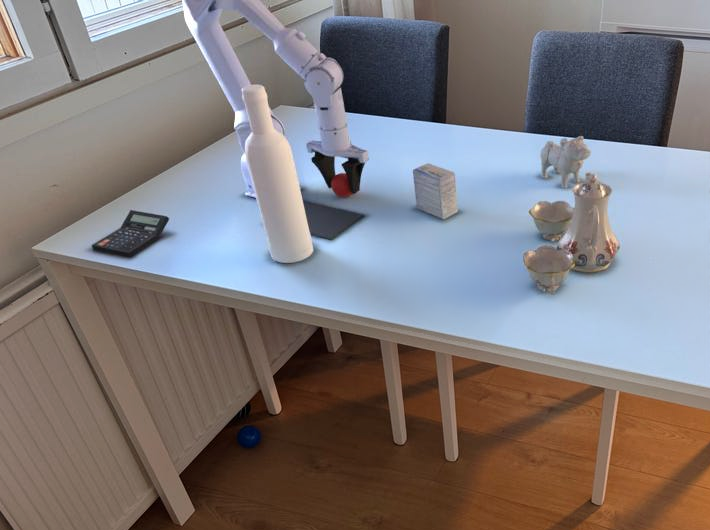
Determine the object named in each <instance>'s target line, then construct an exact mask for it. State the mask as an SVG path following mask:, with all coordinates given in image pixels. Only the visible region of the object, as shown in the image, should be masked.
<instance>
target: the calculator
mask: <svg viewBox="0 0 710 530" xmlns="http://www.w3.org/2000/svg"><path fill="white" fill-rule="evenodd" d="M169 220H170V218H169V217H168V216H167V215H162V214H156V213H150V212H146V211H145V212H144V211H139V210H134V209H133V210H132V209H130V210H129V212H128V214H127V215H126V217H125V219H124V221H123V223H122V224H121V226H120V227H119V228H118V229H116V230H115V231H112V232H111V233H109V234H107V235H105V236H104V237H103V238H101V239H100V240H98V241H96V242H95V243H93V244H91V248H92V250H94V251H100V252H104V253H109V254H114V255H118V256H119V255H120V256H124V257H129V258H130V257H132V256H134V255H135V254H137V253H139V252H140V251H142V250H143V249H145V248H146V247H148V246H149V245H151V244H153V243H154V242H155V241H157V240H158V239H160V237H161V235H162V233H163V232H164V229H165V228H166V226H167V224H168V222H170V221H169Z"/></svg>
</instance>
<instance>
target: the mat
mask: <svg viewBox="0 0 710 530" xmlns="http://www.w3.org/2000/svg"><path fill="white" fill-rule="evenodd" d="M302 200H303V205H304V209H305V214H306V218H307V223H308V228H309V232H310V235H311V236H314V237H317V238H320V239H325V240H328V241H332V240H333V239H334V238H336V237H338V236H339V235H340V234H341V233H343V232H344V231H346V230H348V229H349V228H350V227H351V226H353V225H354V224H356V223H357V222H358V221H360V220H361V219H363V218H364V217H365V214H364V213H360V212H355V211H352V210H346V209H343V208H338V207H334V206H330V205H324V204H321V203H316V202H312V201H308V200H304V199H302Z"/></svg>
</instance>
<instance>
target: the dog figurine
mask: <svg viewBox="0 0 710 530" xmlns="http://www.w3.org/2000/svg"><path fill="white" fill-rule="evenodd" d="M591 154H592V151H591V150H590V149H589V148H588V146H587V144H586V143H585V142H584V136H583V135H579V136H577V137H573V138H572V139H570V140H568V139H567V138H565V137H563V138H562V139H560V141H559V144H558V143H555V142H554V141H551V140H548V141H546V143H545V144H544V146H543V148H542V149H541V150H540V152H539V156H540V160H541V163H540V166H541V178H542V179H548V178H549V176H548V174H547V170H548V168H550V167H552V168H553V173H554V174H560V178H561V179H560V181H561V182H560V187H561V188H563V189H566V188H568V187H569V185H568V181H569V178H570V175H571V174H572V181H573V183H575V184H580V182H581V180H580V176H579V175H580V170H581V169H582V167H583V165H584V160H587V159H588V158H589V157H590V156H591Z"/></svg>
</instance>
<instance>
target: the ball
mask: <svg viewBox="0 0 710 530" xmlns="http://www.w3.org/2000/svg"><path fill="white" fill-rule="evenodd" d="M331 187H332V188H331V190H332V192H333V193H334V194H335V196H336V197H337V196H338V197H340V198H348V197H350V196H351V195H353V193H351V190H350V187H349V182H348V178H347V175H346V173H345V172H339V173H337V174H336V176H334V178H333V179H332V182H331Z"/></svg>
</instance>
